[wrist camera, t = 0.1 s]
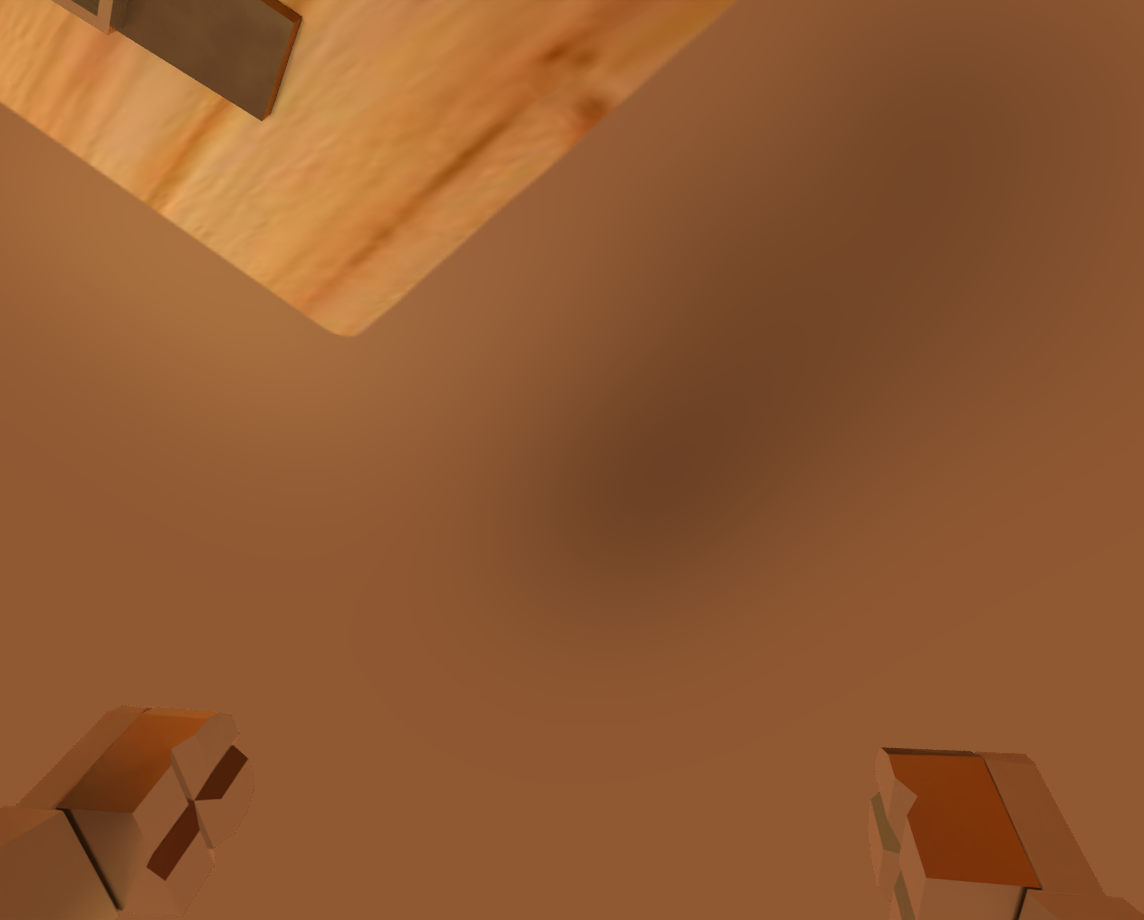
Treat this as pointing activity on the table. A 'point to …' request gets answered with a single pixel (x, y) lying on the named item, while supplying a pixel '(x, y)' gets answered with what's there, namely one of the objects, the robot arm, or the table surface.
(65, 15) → the table surface
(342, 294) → the table surface
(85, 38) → the table surface
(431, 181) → the table surface
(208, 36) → the rail
